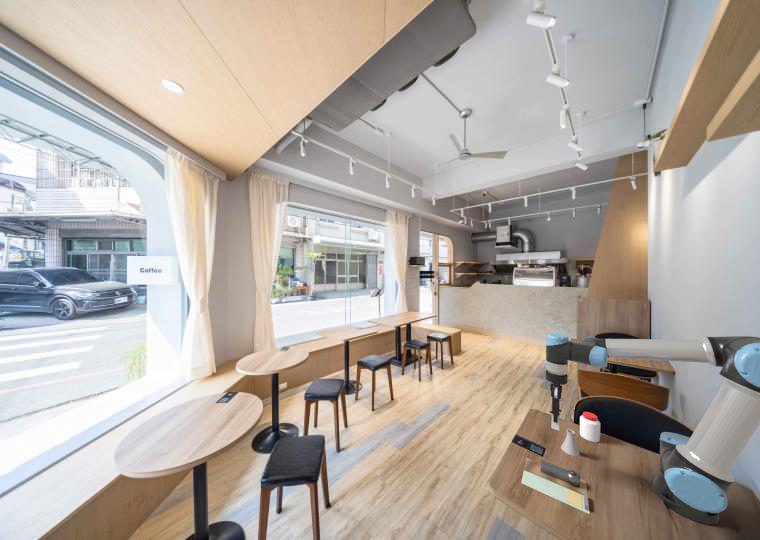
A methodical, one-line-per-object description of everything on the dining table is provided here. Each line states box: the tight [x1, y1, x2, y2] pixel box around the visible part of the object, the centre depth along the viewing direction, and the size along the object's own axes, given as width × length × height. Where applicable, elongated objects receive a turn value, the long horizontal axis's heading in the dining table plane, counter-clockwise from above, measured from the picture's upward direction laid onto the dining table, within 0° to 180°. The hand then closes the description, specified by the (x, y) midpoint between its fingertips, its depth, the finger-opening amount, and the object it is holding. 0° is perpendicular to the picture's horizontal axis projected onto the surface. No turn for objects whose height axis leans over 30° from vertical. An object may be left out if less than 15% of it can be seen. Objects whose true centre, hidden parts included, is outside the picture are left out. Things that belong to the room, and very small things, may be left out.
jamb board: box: [523, 457, 589, 497], centre depth 99 cm, size 20×8×1 cm, turn 54°
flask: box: [560, 428, 581, 457], centre depth 113 cm, size 7×7×10 cm
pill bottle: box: [579, 411, 601, 443], centre depth 124 cm, size 8×8×11 cm
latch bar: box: [540, 459, 581, 487], centre depth 98 cm, size 12×4×4 cm, turn 54°
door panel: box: [521, 469, 591, 515], centre depth 93 cm, size 20×8×3 cm, turn 54°
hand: (555, 427), depth 105 cm, fingers closed
